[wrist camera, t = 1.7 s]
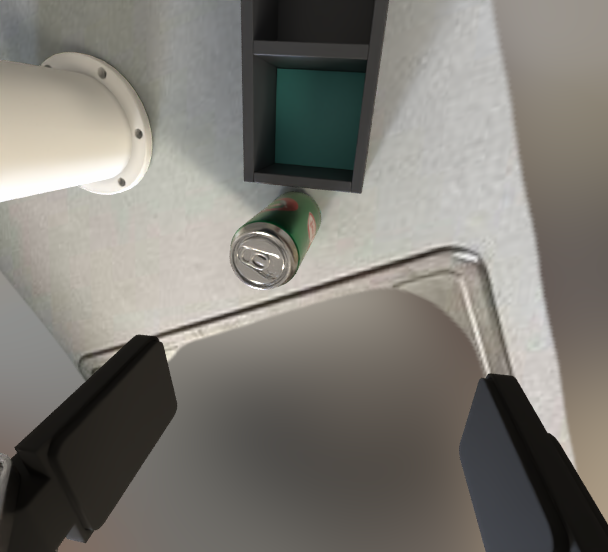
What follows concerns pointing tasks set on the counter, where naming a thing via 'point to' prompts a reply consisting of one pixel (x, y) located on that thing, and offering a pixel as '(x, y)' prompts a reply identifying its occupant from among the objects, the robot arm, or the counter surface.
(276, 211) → the soda can
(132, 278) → the counter surface
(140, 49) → the counter surface
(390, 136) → the counter surface
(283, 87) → the two-compartment grey tray
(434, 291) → the counter surface
